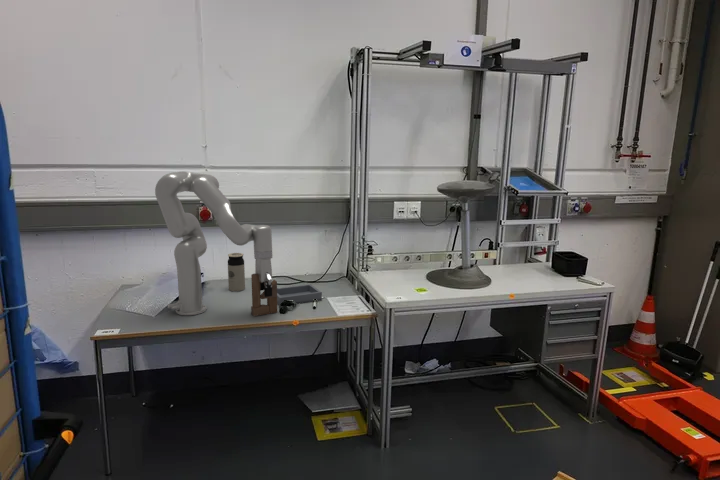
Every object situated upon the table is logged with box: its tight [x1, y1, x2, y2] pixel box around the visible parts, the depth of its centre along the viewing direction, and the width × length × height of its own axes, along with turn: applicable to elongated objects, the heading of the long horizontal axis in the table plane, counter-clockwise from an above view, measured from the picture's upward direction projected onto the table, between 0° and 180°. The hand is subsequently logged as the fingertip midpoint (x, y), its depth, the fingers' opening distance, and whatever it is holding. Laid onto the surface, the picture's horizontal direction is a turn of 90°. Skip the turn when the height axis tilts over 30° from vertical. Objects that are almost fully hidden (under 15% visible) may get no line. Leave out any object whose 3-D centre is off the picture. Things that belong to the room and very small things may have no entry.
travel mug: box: [227, 252, 246, 292], centre depth 239 cm, size 8×8×18 cm
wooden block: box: [250, 272, 278, 317], centre depth 207 cm, size 4×11×18 cm, turn 121°
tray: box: [277, 283, 323, 306], centre depth 228 cm, size 20×14×4 cm
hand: (265, 293), depth 207 cm, fingers open, 9 cm apart
